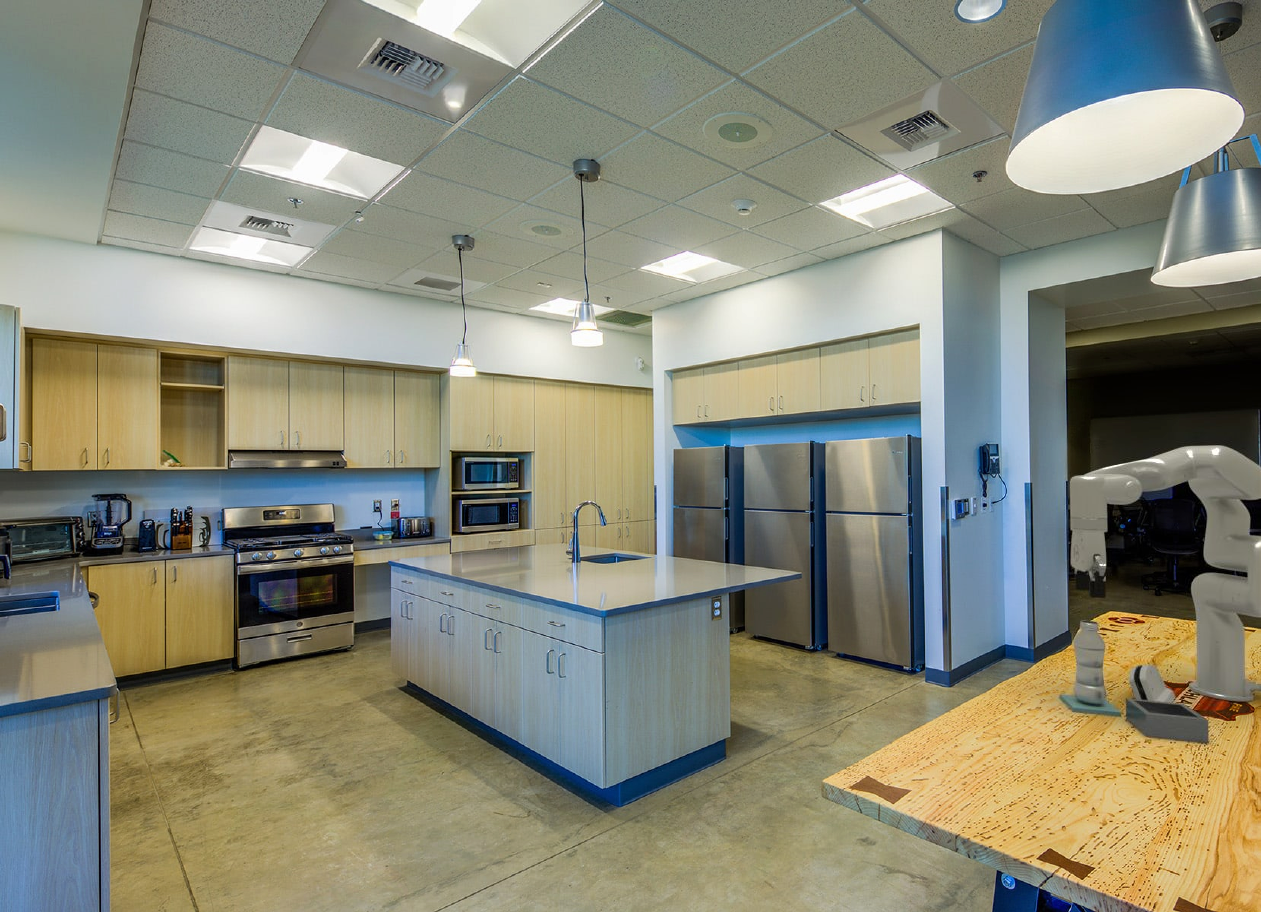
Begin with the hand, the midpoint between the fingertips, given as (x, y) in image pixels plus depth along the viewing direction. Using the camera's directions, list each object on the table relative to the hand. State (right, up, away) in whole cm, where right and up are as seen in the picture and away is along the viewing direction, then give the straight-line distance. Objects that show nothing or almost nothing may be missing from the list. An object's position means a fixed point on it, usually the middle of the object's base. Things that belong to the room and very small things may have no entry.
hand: (1089, 593), depth 164 cm
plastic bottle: (0, -27, 0) cm, 27 cm away
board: (-1, -28, -1) cm, 28 cm away
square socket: (+6, -28, -15) cm, 32 cm away
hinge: (+18, -29, +4) cm, 34 cm away
